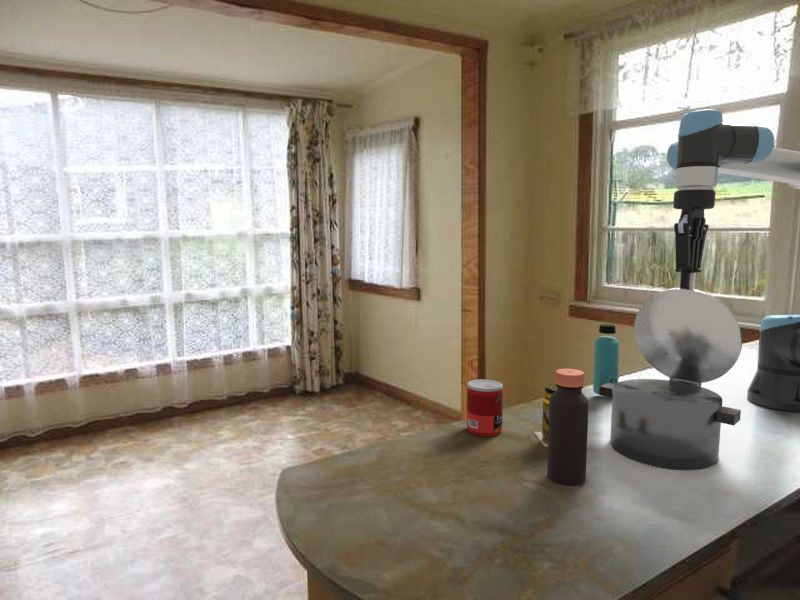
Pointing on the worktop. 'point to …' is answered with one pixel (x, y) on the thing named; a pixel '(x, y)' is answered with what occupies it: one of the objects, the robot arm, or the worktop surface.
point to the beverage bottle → (606, 358)
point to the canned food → (484, 407)
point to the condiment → (546, 415)
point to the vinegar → (568, 429)
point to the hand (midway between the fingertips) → (685, 303)
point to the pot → (667, 422)
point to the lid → (688, 335)
